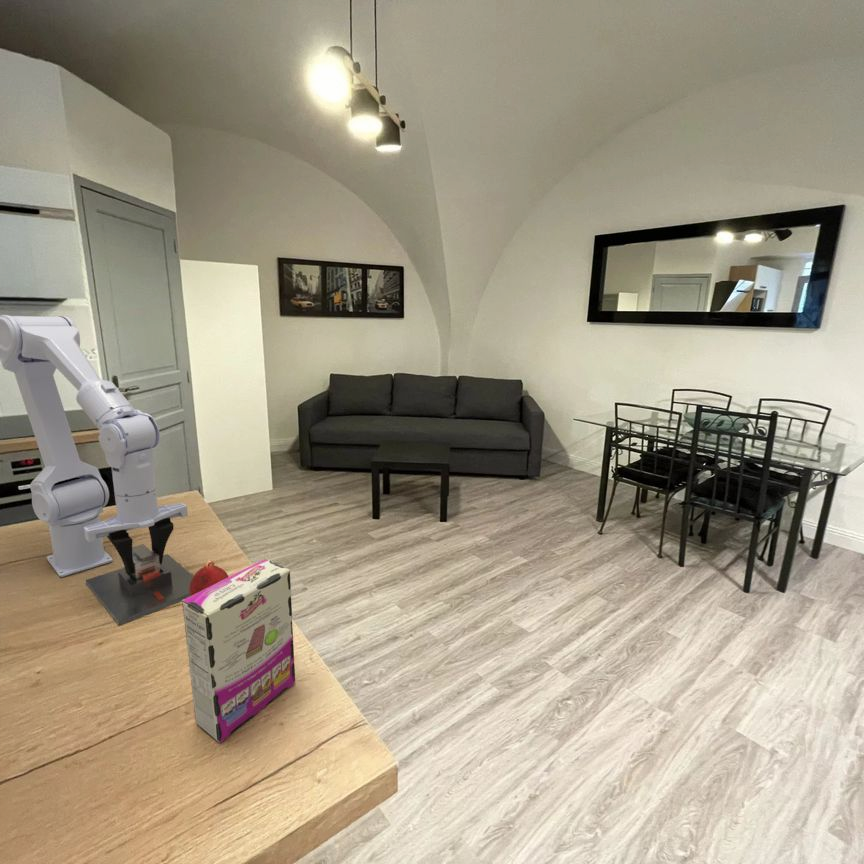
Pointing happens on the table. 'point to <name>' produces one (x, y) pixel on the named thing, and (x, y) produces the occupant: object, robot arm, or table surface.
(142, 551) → the grey block
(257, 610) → the candy bar box
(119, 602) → the stand
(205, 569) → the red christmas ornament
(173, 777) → the table surface
